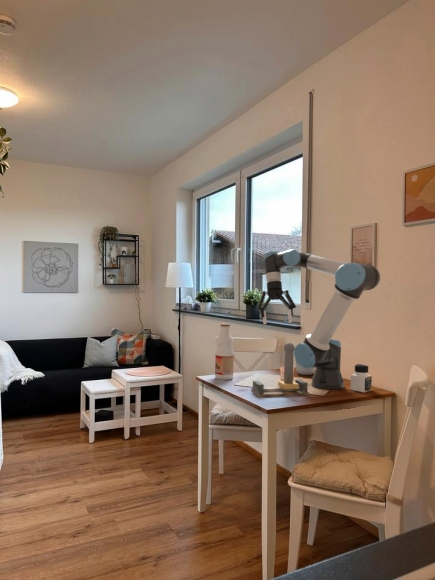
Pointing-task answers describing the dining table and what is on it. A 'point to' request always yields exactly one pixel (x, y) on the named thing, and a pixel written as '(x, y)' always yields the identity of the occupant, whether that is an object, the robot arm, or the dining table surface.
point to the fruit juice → (224, 354)
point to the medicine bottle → (361, 379)
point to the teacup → (304, 370)
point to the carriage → (288, 368)
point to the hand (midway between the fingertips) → (277, 323)
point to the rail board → (280, 390)
